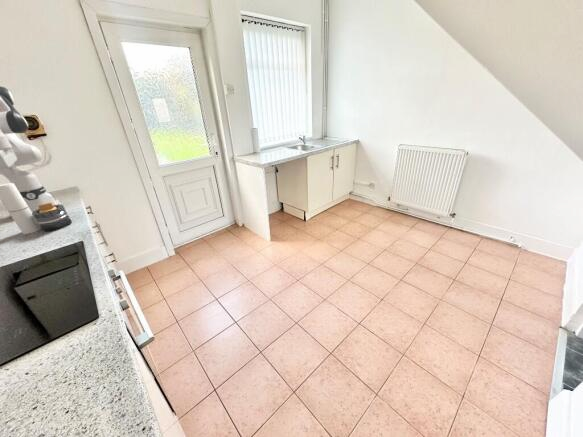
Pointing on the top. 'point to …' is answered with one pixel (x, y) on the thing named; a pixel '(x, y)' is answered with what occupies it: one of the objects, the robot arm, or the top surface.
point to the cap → (46, 207)
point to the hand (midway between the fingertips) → (14, 173)
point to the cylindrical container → (18, 208)
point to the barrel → (52, 218)
